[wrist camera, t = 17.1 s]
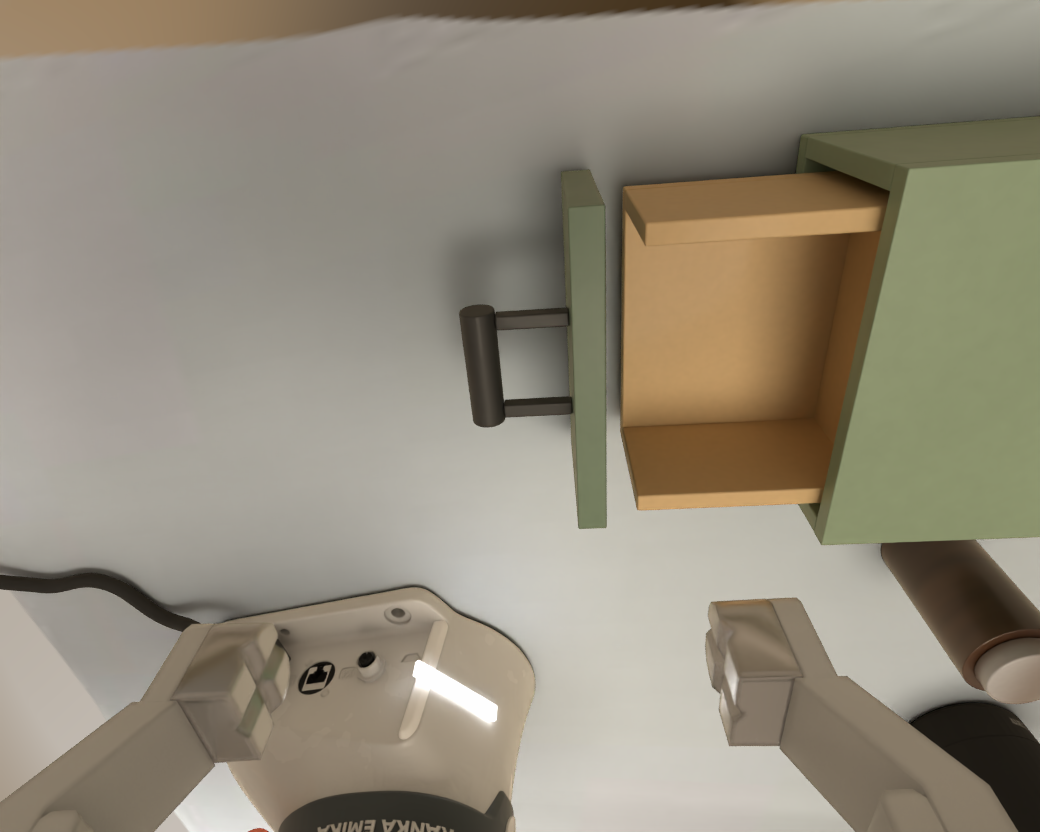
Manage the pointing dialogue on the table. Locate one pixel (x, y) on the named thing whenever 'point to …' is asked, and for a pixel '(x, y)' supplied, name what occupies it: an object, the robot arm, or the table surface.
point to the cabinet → (941, 338)
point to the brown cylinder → (973, 614)
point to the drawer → (703, 336)
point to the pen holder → (992, 754)
